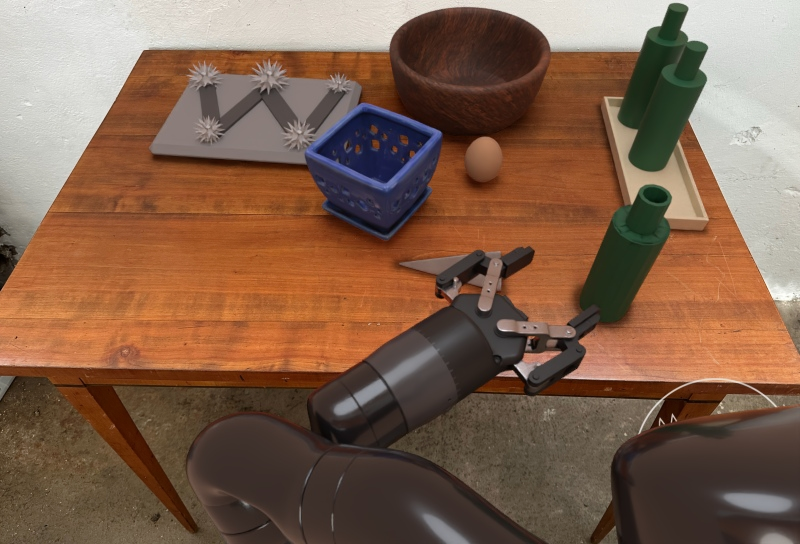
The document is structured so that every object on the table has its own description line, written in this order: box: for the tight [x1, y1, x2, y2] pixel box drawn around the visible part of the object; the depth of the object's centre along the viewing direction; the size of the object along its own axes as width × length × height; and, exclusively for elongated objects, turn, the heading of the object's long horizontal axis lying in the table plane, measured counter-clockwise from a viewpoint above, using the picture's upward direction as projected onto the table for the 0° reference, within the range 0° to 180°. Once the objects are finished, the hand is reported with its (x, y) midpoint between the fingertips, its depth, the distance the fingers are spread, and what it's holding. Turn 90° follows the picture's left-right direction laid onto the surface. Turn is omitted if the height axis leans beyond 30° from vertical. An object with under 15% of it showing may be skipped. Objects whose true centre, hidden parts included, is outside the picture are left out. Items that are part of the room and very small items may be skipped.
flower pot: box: [305, 102, 444, 242], centre depth 71 cm, size 13×13×12 cm
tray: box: [600, 96, 710, 231], centre depth 81 cm, size 28×10×2 cm, turn 175°
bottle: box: [578, 184, 672, 324], centre depth 59 cm, size 6×6×18 cm
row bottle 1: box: [617, 2, 689, 130], centre depth 80 cm, size 6×6×18 cm
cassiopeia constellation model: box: [148, 59, 363, 166], centre depth 86 cm, size 30×22×7 cm
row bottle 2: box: [628, 40, 709, 172], centre depth 74 cm, size 6×6×18 cm
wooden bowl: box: [388, 6, 552, 137], centre depth 88 cm, size 25×25×10 cm
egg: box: [463, 136, 504, 183], centre depth 77 cm, size 5×5×7 cm
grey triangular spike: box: [398, 250, 502, 292], centre depth 68 cm, size 6×5×13 cm
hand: (562, 281), depth 52 cm, fingers open, 8 cm apart
